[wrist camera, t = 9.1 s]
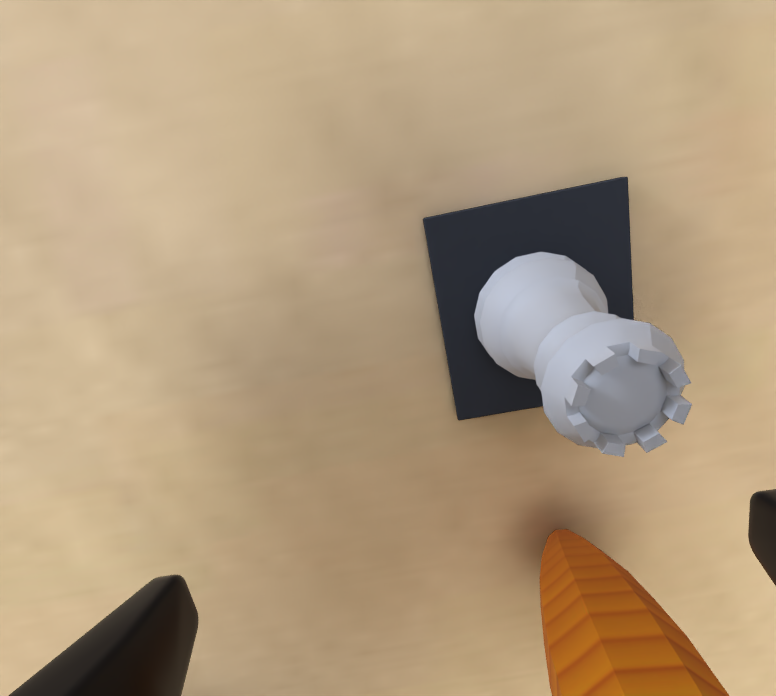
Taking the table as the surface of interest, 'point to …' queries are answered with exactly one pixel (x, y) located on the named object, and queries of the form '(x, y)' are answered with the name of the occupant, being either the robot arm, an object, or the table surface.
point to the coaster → (499, 246)
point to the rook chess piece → (581, 354)
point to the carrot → (611, 630)
